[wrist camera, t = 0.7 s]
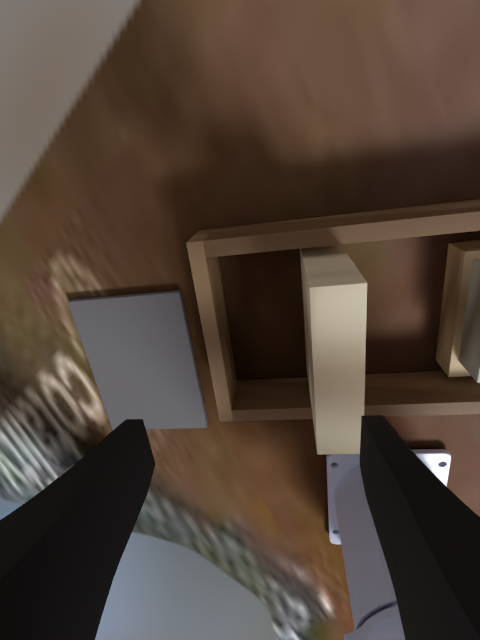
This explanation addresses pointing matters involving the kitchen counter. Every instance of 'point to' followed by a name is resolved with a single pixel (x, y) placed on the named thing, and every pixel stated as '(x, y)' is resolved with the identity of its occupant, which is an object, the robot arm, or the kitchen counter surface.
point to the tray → (293, 393)
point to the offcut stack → (461, 312)
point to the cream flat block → (334, 346)
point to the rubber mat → (142, 358)
